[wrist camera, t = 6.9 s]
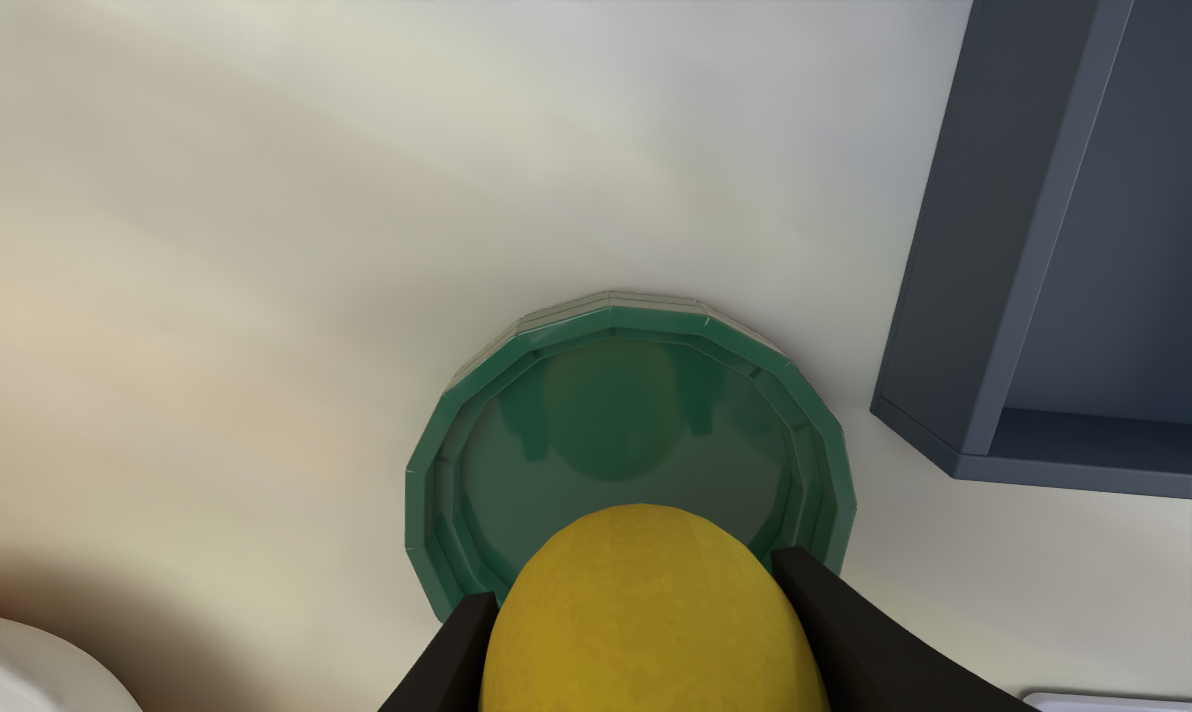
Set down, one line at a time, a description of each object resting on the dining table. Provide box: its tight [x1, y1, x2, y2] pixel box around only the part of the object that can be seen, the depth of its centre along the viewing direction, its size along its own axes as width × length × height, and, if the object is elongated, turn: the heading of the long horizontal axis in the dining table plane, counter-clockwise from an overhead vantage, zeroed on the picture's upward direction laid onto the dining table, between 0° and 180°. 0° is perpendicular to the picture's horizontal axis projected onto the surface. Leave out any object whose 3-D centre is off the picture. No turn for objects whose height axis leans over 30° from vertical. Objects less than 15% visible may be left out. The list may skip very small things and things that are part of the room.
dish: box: [405, 291, 857, 624], centre depth 15 cm, size 11×11×2 cm
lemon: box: [478, 503, 831, 712], centre depth 10 cm, size 6×6×8 cm
